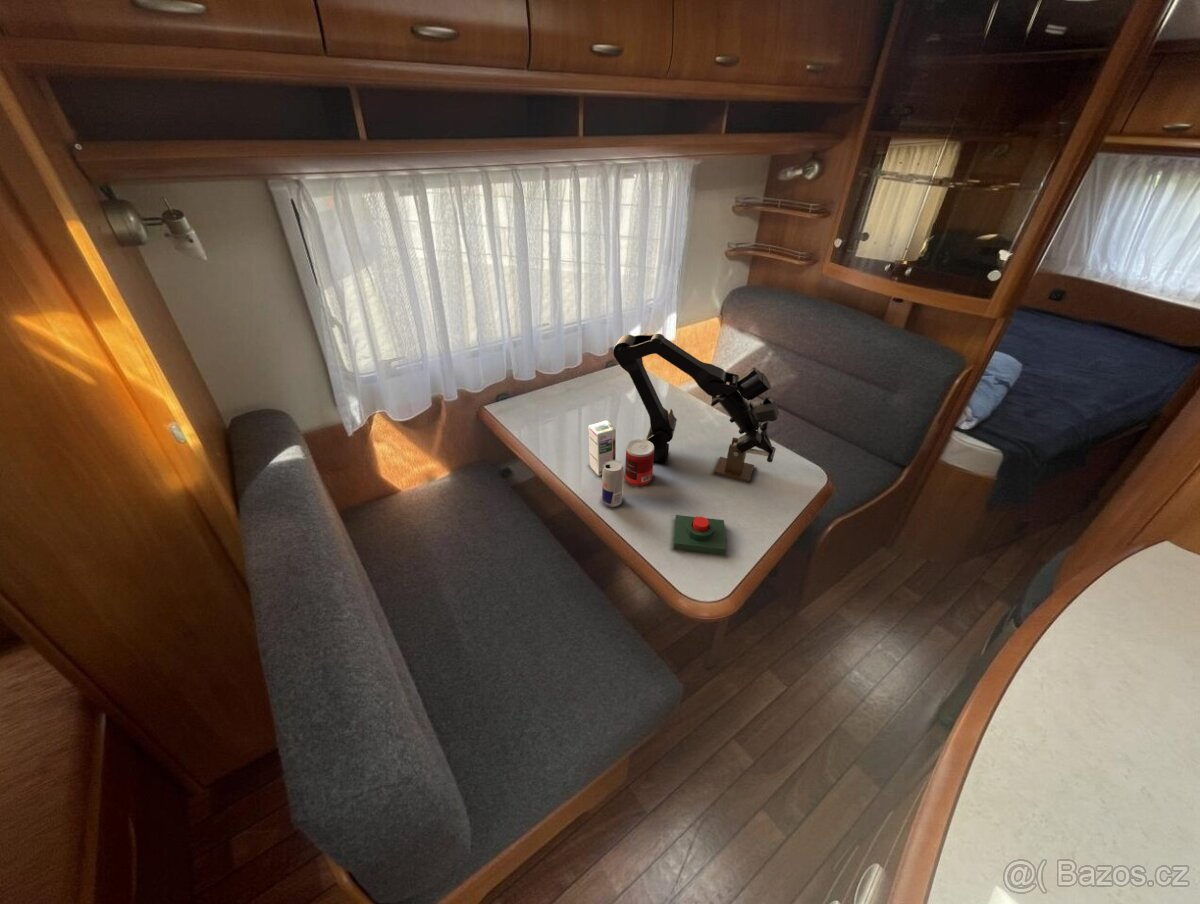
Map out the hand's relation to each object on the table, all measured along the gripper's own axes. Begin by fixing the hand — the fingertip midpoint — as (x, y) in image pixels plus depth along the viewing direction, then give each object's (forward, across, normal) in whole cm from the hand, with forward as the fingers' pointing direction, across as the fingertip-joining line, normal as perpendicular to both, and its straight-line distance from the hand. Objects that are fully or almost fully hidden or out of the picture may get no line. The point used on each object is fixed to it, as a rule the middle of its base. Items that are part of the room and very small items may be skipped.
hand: (771, 451), depth 131 cm
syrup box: (-25, -15, +38) cm, 48 cm away
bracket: (0, 0, +13) cm, 13 cm away
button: (-4, -31, +12) cm, 33 cm away
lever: (-2, 0, +5) cm, 5 cm away
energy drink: (-19, -27, +32) cm, 46 cm away
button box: (-1, -31, +14) cm, 34 cm away
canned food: (-16, -15, +30) cm, 37 cm away
